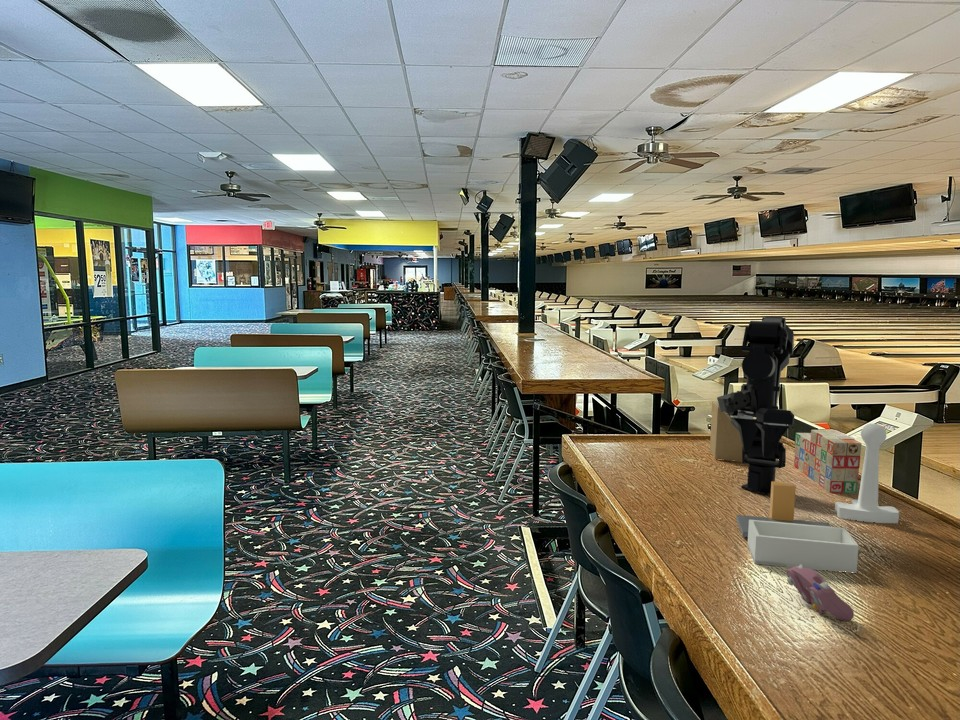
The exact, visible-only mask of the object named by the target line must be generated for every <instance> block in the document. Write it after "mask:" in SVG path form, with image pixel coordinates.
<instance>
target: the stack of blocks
mask: <svg viewBox="0 0 960 720" xmlns="http://www.w3.org/2000/svg"><path fill="white" fill-rule="evenodd" d="M794 444H795V445H794V460H793V461H794V463H793V467H794V468H796V469H798V471H799V472H801V474H802V473H803V474H804V475H805V476H806V477H808V478H809V479H811V480H812V481H813V482H815V483H816V484H817V485H819V487H821V488H823V489H824V490H825V491H826V492H828V493H830V494H854V495H855V494H858V486H859V481H858V480H859V474H860V473H859V471H860V464H861V453H862V443H861V442H860V441H858V440H856V439H855V438H854V437H852V436H850V435H847V434H845V433H843V432H841V431H839V430H837V429H811V431H810V432H795V437H794Z"/></svg>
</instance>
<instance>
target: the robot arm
mask: <svg viewBox="0 0 960 720" xmlns="http://www.w3.org/2000/svg"><path fill="white" fill-rule="evenodd" d="M761 319H762V320H750V321H749V323H748V325H745V328H744V333H743V339H742V346H741V351H742V352H749V353H748V354H746V355H745V356H744V358H743V359H742V361H741V368H742V372H743V374H744V375H745V376H746V383H742V384H741V387H740V390H736V391H735V392H734V391H732V392H731V393H728V394H724V395H721V396H717V397H716V401H717V404H718V405H719V407H720V411H721V412H723V411H724V412H726V413H727V415H729V416H730V419H731V420H733V421H734V422H735V423H736V424H737V426H738V428H739V432H740V437H741V441H742V461H741V463H742V464H743V465H744V464H748V469H747V470H748V471H747V480H746V481H747V482H746V483H745V484H742V485H740V488H741V489H744V490H747V491H751V492H755V493H757V494H761V495H767V496H768V495H771V481H773V482H776V472H777V471H776V469H777V468H778V469H782V468H786V462H787V461H786V459H787V458H786V455H787V452H786V451H787V449H786V447H785V446H784V442H782V441H781V440H782V438H783V436H784V434H785V433H786V431H788V429H789V430H790V428H791V426H792V425H793V426H794V425H795V414H794V413H793V412H792V411H791V410H790V409H789V410H787V409H783V408H779V406H778V401H779V395H780V394H779V393H780V388H781V387H780V384H781V374H782V371H783V370H784V369H785V368H786V367H787V366H788V365H789V364H790V358H791V355H793V354H794V347H795V337H794V336H795V332H794V331H793V330H792V329H791V328H790V327H789V326H788V325H787V324H786V323H787V322H786V320H787V319H786V317H783V316H776V315H775V316H773V315H771V316H770V315H769V316H768V315H766V316H763V317H762V318H761Z"/></svg>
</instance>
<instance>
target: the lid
mask: <svg viewBox="0 0 960 720" xmlns="http://www.w3.org/2000/svg"><path fill="white" fill-rule="evenodd" d="M796 489H797V487H796V485H795V483H793V482H785V481H775V482H773V481H771V494H770V500H769V512H768V513H769V516H767V517H766V516H754V515H744V514H735V515H736V519H735V520H736V523H737V525H738V528H739V530H740V533H741V536H742V537H744V538H748V527H749V520H760V521H772V522H783V523H795V524H806V525H818V526H829V527H832V525H831V524H830V523H829V522H824V521H813V520H801V519H800V520H799V519H794V517H795V506H796V505H795V504H796V503H795V502H796Z"/></svg>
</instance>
